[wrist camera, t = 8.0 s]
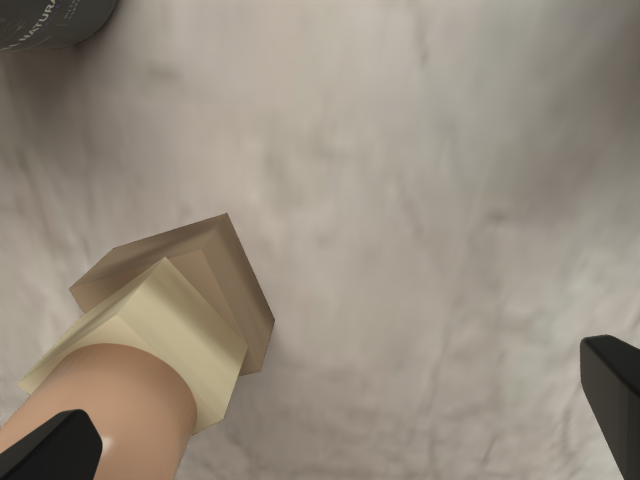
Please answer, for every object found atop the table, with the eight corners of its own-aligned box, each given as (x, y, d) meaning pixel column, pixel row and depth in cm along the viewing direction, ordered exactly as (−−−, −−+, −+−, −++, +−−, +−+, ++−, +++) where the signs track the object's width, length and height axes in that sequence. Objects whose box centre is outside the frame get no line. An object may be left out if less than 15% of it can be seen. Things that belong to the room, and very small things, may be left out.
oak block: (165, 256, 18) (116, 314, 14) (248, 345, 19) (223, 418, 16) (80, 317, 20) (16, 383, 16) (163, 396, 21) (122, 473, 17)
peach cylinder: (172, 336, 15) (110, 439, 11) (213, 452, 17) (173, 572, 13) (27, 350, 15) (-77, 451, 12) (84, 460, 17) (10, 576, 14)
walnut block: (228, 211, 21) (201, 249, 18) (275, 318, 24) (260, 371, 20) (115, 246, 23) (68, 289, 19) (170, 345, 25) (138, 399, 21)
